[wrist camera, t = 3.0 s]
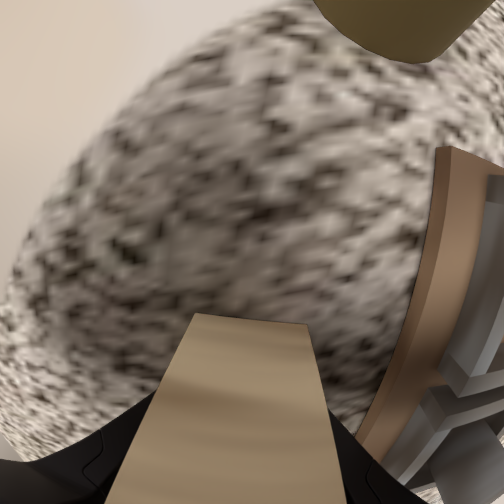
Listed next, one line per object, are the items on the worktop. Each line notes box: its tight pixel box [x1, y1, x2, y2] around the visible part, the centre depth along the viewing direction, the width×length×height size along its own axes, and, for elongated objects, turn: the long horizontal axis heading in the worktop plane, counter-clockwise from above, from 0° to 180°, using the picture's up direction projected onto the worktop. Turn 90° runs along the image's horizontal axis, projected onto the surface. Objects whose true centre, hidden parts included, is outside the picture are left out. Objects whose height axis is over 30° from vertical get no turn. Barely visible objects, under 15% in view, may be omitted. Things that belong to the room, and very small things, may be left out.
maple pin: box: [104, 313, 347, 504], centre depth 6 cm, size 4×4×8 cm
